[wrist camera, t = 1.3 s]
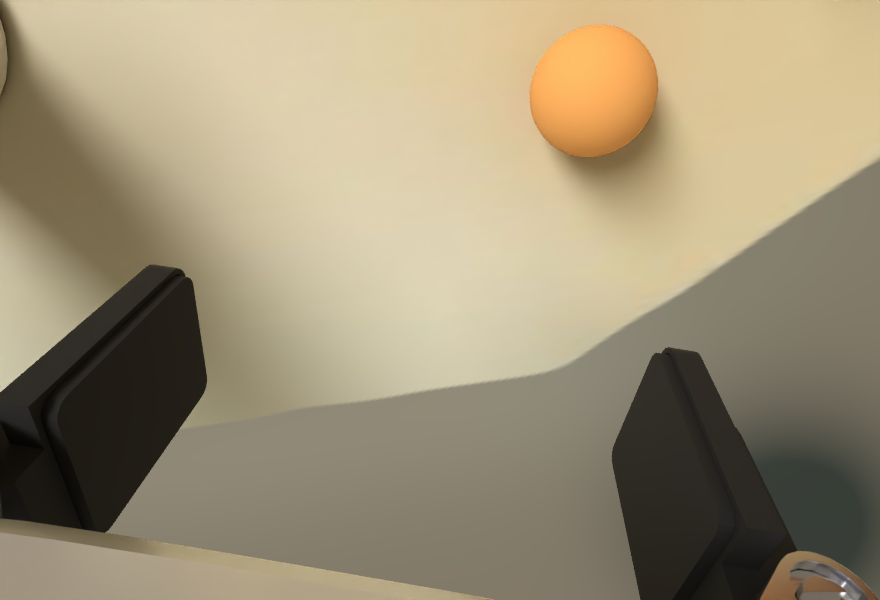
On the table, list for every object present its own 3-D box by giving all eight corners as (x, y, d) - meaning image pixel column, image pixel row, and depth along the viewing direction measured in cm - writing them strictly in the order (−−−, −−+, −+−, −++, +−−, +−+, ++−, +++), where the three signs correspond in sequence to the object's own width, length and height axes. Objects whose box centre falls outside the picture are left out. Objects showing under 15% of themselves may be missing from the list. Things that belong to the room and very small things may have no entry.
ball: (563, 158, 31) (579, 198, 26) (503, 71, 29) (508, 96, 24) (660, 91, 29) (698, 120, 24) (604, -10, 27) (632, -1, 22)
